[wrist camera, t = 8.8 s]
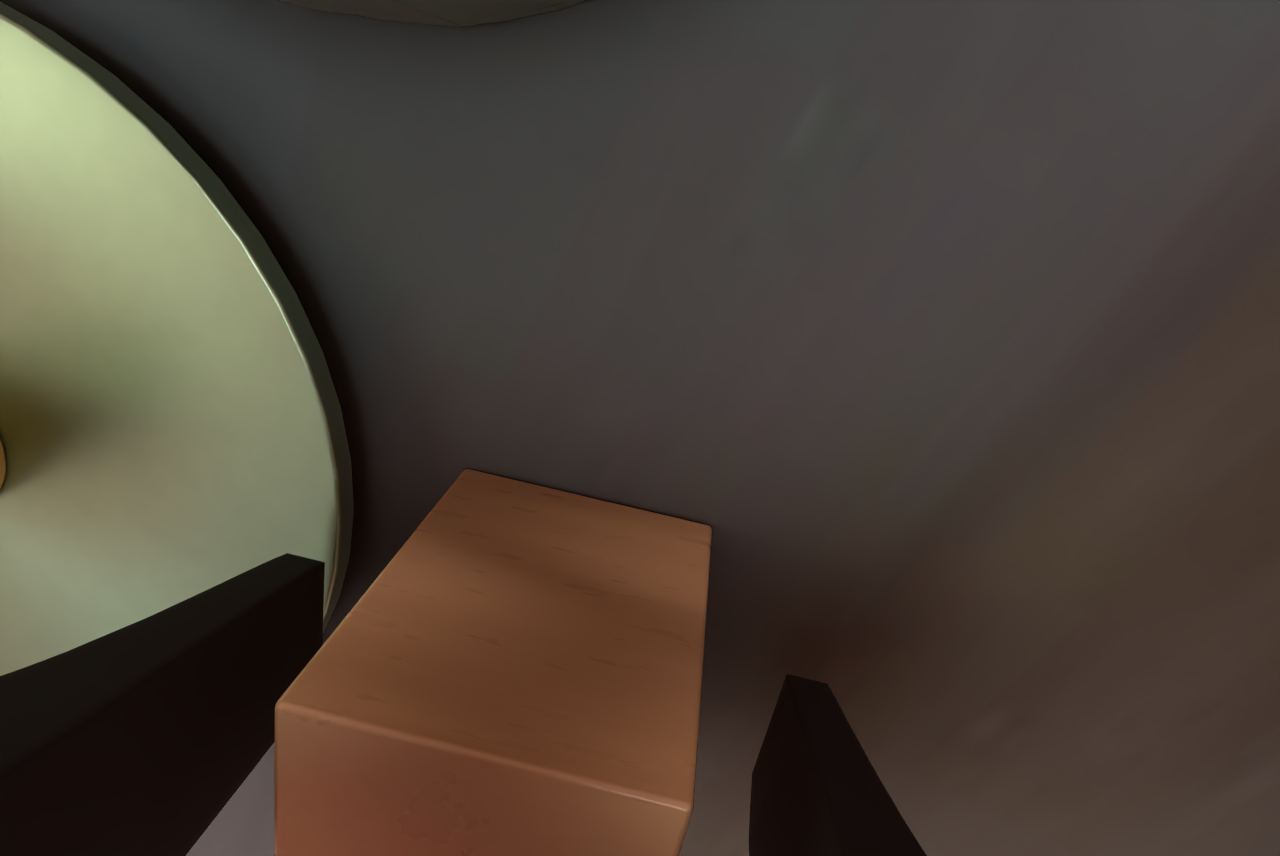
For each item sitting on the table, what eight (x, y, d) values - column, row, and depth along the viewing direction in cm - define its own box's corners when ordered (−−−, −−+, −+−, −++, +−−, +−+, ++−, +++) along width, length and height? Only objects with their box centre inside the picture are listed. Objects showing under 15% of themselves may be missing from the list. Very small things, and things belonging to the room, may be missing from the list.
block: (442, 663, 14) (271, 970, 9) (464, 466, 12) (270, 704, 7) (661, 717, 14) (615, 1062, 9) (713, 524, 12) (695, 809, 7)
